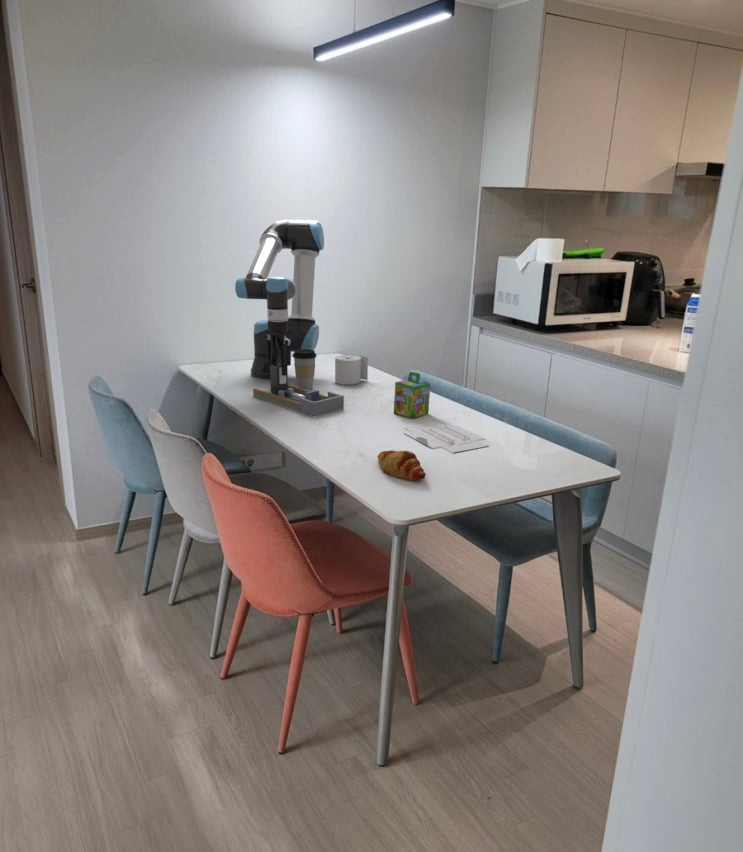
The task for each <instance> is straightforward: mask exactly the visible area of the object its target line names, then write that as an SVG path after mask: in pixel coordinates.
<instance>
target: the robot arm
mask: <svg viewBox="0 0 743 852" xmlns="http://www.w3.org/2000/svg"><path fill="white" fill-rule="evenodd" d="M258 244H259V247H258V250H257V251H256V254H255V256H254V257H253V260H252V262H251V265H250V267H249V269H248V272H247V274H246V276H245V277H242V278H237V279H236V280H235V285H234V291H235V295H236V297H237V298H239V299H246V300H265V301H266V305H267V306H266V308H267V309H266V313H267V316H266V317H267V319H263V320H259V321H256V322H255V323H254V324H253V334H252V335H253V346H254V347H253V348H254V353H253V354H254V358H253V361H252V363H251V364H252V365H251V369H250V376H251V377H253V378H257V379H264V380H270V364H275V363H280V365H281V366H279V384H284V383H286V375H287V368H288V366H289V367H290V366H291V365H292V352H293V353H294V351H295V350H299V349H310V350H314V351H315V350H316V347H317V345H318V341H319V335H320V327H319V325H318V324H317V323H316V319H315V318H314V317H313V303H314V287H315V269H316V268H315V267H316V259H317V258H318V256H320V251H323V250H324V248H325V236H324V230H323V226H322V224H321V222H319V221H318V220H311V219H306V220H305V219H280V220H278V221H275V222H274V223H272V224H271V225H269V226H268V227H267V228H266V229H264V231H263V232H262V234H261V236H260V238H259V243H258ZM285 249H286V250H287V249H289V250H290V251H291V252H290V253H291V254H292V255H293V257H294V261H293V263H294V264H293V276H292V277H293V278H292V279H289V278H287V277H285V276H269V274H270V271H271V270H272V267H273V265H274V263H275V260H276V257H277V255H278V254H279V253H280V252H281V251H282V250H285ZM289 300H291V315H289V303H288V302H289Z"/></svg>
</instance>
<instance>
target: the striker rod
mask: <svg viewBox="0 0 743 852" xmlns="http://www.w3.org/2000/svg"><path fill="white" fill-rule="evenodd" d="M279 366H281V365H280V363H275V364H270V379H269V380H270V390H271V393H272V394H275V395H278V391H279V390H283V391H285V395H288V396H291V397H294V398H297V399H300V398H304V399H307V400H310V401H313V402H316V401H319V394H320V390H318V389H311V390H309V391H307V392H305V396H304V395H301V394H297V393H294V392H291V391H288V390H287V389H288V384H289V383H288V382H289V381H288V380H289V378H288V373H289V372H288V367H287V375H286V383H284V384H279Z"/></svg>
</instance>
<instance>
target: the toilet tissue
mask: <svg viewBox="0 0 743 852" xmlns="http://www.w3.org/2000/svg"><path fill="white" fill-rule="evenodd" d="M334 358H335V359H334V373H335V374H334V382H335V383H336V384H340V385H349V386H350V385H358V384H360V383H361V382H362V380H365V381H368V375H369V374H368V372H369V371H368V366H369V365H368V364H369V358H368V357H366V356H361V355H354V354H353V355H352V354H347V355H345V354H344V355H338V356H337V355H336V356H335V357H334Z"/></svg>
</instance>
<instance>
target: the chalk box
mask: <svg viewBox="0 0 743 852" xmlns="http://www.w3.org/2000/svg"><path fill="white" fill-rule="evenodd" d="M413 377H415V378H413ZM407 378H408V379H403V380H398V381H396V382H394V384H395V385H394V399H393V400H394V401H393V414H395V415H399V416H402V417H406V418H408V419H412V420H413V419H416V418H419V417H422V416H426V415H429V410H430V396H431V395H430V394H431V383H430V382H427V381H425V380H420V378H421V374H420V373H419V372H418V373H417V372H413V371H409V374H408V377H407Z"/></svg>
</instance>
